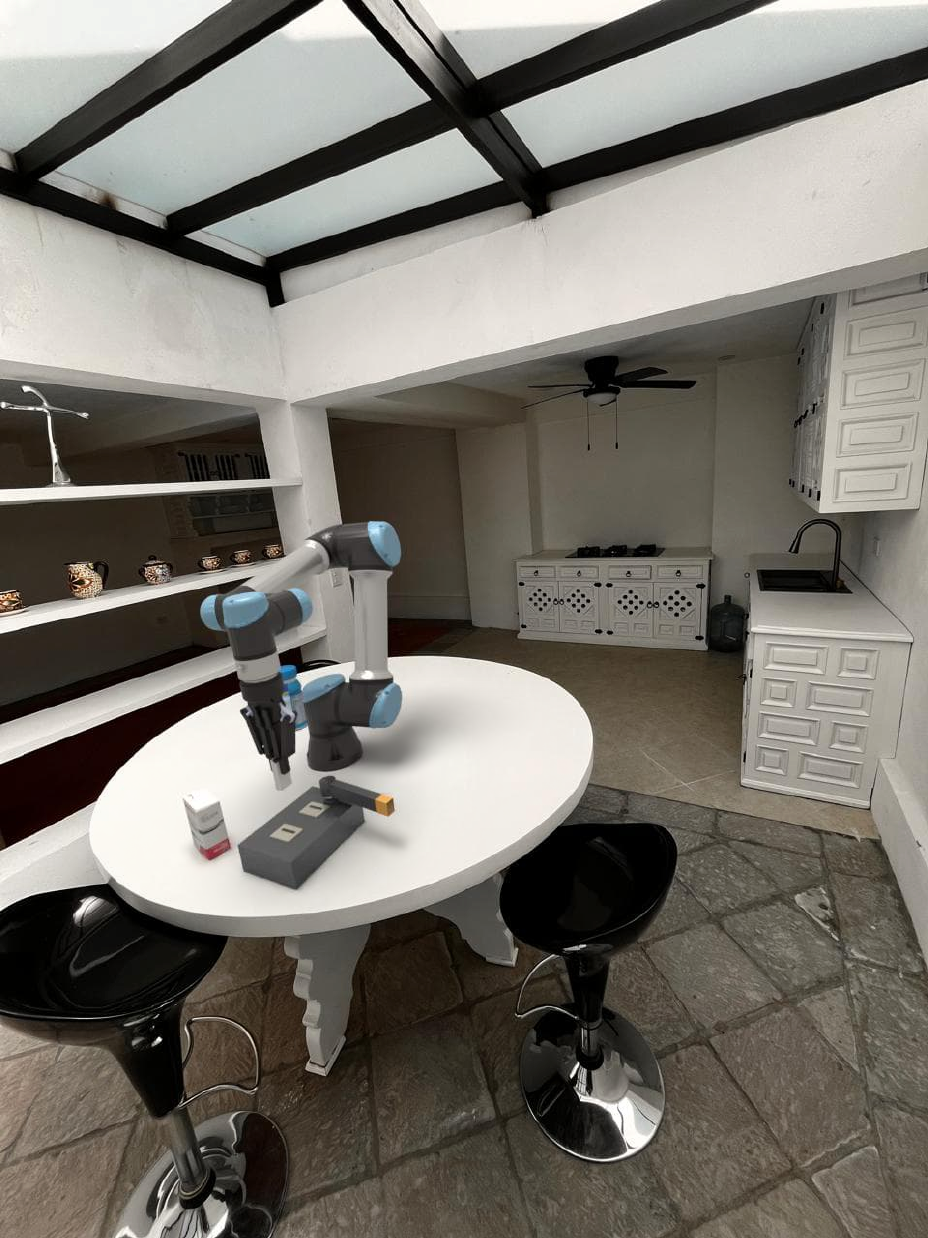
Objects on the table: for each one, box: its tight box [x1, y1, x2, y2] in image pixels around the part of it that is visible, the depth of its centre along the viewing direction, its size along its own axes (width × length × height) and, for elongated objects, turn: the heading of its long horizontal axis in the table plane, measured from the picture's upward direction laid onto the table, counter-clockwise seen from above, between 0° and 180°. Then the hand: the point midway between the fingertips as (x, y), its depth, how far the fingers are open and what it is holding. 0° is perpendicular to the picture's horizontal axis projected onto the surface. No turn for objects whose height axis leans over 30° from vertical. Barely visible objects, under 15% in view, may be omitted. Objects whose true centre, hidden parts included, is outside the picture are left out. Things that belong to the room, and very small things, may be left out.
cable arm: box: [318, 775, 396, 818], centre depth 106 cm, size 4×20×3 cm, turn 58°
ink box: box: [182, 787, 232, 861], centre depth 106 cm, size 8×5×12 cm, turn 47°
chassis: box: [237, 786, 366, 891], centre depth 104 cm, size 14×21×7 cm, turn 154°
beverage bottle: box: [279, 664, 308, 732], centre depth 161 cm, size 8×8×20 cm
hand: (284, 786), depth 99 cm, fingers closed
